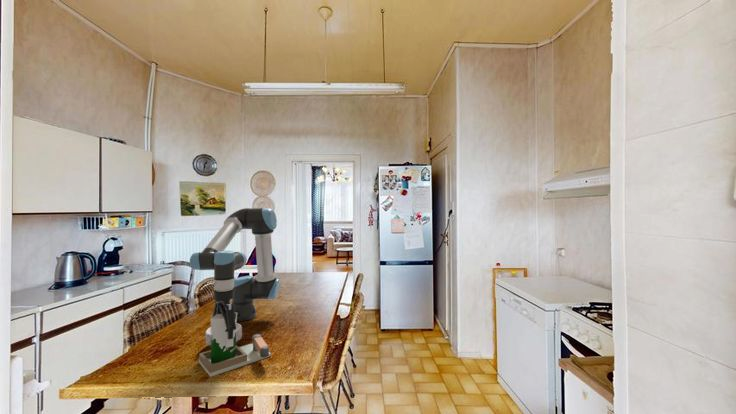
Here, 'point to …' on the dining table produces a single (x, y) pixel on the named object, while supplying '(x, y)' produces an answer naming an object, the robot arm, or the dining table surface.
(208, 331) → the paper bowls
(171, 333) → the dining table surface
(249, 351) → the seat board
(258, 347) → the leg bar
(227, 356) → the soya milk
